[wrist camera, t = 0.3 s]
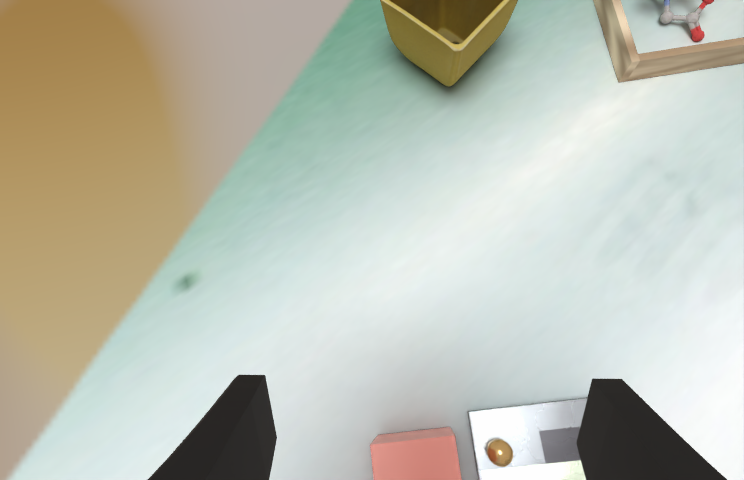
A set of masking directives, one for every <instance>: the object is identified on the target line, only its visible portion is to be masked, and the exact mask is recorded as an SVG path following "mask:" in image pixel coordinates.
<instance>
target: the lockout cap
mask: <svg viewBox="0 0 744 480" xmlns="http://www.w3.org/2000/svg"><path fill="white" fill-rule="evenodd" d="M370 448H371V457H372V467H373V477H374V480H462V479H461V472H460V466H459V459H458V453H457V446H456V440H455V435H454V433H453V431H452V429H451V428H450V427H444V428H435V429H426V430H417V431H408V432H399V433H390V434H381V435H377V437H376V438H375V439H374V441H373V442H372V443H371V444H370Z"/></svg>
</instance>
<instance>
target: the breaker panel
mask: <svg viewBox="0 0 744 480" xmlns="http://www.w3.org/2000/svg"><path fill="white" fill-rule="evenodd" d="M586 402H587V398H580V399H572V400H563V401H554V402H545V403H537V404H528V405H519V406H510V407H501V408H493V409H484V410H475V411H468V415H469V421H470V427H471V433H472V439H473V446H474V452H475V458H476V464H477V470H478V476H479V480H586V478H585V474H584V471H583V467H582V463H581V459H580V455H579V452H578V448H577V444H576V442H577V438H578V434H579V430H580V426H581V422H582V418H583V414H584V410H585V406H586Z"/></svg>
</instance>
